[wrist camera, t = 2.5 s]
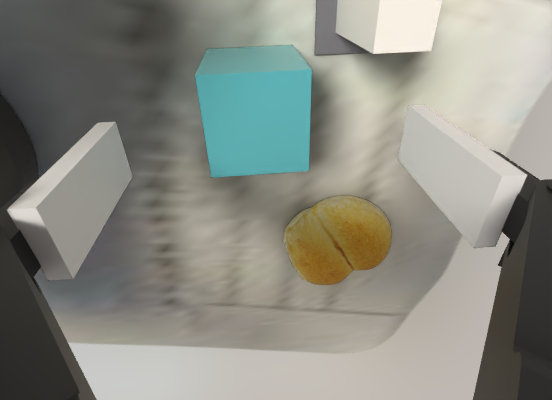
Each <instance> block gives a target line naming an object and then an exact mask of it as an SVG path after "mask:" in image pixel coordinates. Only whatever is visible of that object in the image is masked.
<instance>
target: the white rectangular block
mask: <svg viewBox="0 0 552 400" xmlns="http://www.w3.org/2000/svg"><path fill="white" fill-rule="evenodd" d="M441 3H442V0H338V2H337V17H336V33H337V34H339V35H341V36H342V37H344V38H346V39H348V40H350V41H351V42H353V43H355V44H357V45H358V46H360V47H362V48H364V49H365V50H367V51H369V52H371V53H373V54H380V53H400V52H420V51H431V49H432V45H433V40H434V35H435V31H436V26H437V22H438V17H439V12H440V8H441Z"/></svg>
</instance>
